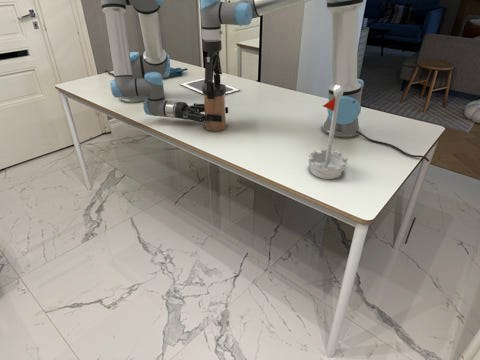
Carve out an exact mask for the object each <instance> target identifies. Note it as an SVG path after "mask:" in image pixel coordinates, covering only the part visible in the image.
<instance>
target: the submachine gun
mask: <svg viewBox="0 0 480 360" xmlns="http://www.w3.org/2000/svg"><path fill="white" fill-rule="evenodd" d="M186 71H188V67H186V68H182V67H176V68H175V67H171V66H170V75H169V76H168V77H172V76H176V75H182V74H183V73H184V72H186Z"/></svg>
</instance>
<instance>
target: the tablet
mask: <svg viewBox="0 0 480 360" xmlns="http://www.w3.org/2000/svg"><path fill="white" fill-rule="evenodd" d="M209 81H210V80H209ZM204 82H205V77H204V78H200V79H195V80H191V81H187V82H183V83H180V84H179V85H180V86H183V87H185V88H187V89H189V90H192V91H194V92H196V93H198V94H201V95H203V96H204V94H203V92H202V86H203V85H205V84H204ZM213 83H214V79H213ZM220 83H221V84H224V85H225V86H226V93H225V96H226V95H229V94H232V93H236V92H240V91H241V90H240V89H238V88H237V87H233V86H230V85H228V84H226V83H222V82H220Z"/></svg>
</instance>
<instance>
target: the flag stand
mask: <svg viewBox="0 0 480 360" xmlns="http://www.w3.org/2000/svg"><path fill="white" fill-rule="evenodd" d="M342 95H343V90H342V89H341V88H336V89H335V90H334V96H335V98H334V99H332V100H331V101H329V100H328V101H327V102H326V103H325V104H323V105H322V107H324V108H325V109H327V108H328V109H330V110H332V111H333V114H332V121H331V127H330V134H328V141H327V147H326V148H321V149H320V151H317V150H315V149H314V150H312V151H311V152H310V155H308V162H307V163H308V165H309V166H310V167H309V169H310V173H311V174H313V176H315V177H318V178H321V179H325V180H332V179H337V178H339V177H341V176H342V174H343V171H344V170H345V169H346V168H347V164H348V158H347V156H346V155H342V152H340V151H338V150H334V151H332V149H333V143H334V132H335V126H336V120H337V113H338V107H339V101H340V97H341V96H342Z"/></svg>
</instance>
